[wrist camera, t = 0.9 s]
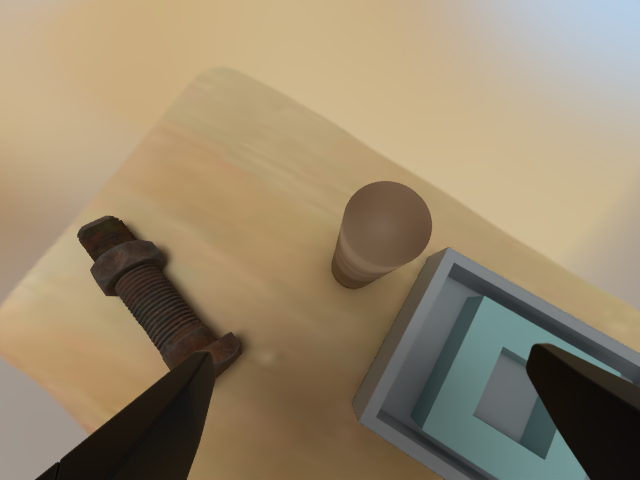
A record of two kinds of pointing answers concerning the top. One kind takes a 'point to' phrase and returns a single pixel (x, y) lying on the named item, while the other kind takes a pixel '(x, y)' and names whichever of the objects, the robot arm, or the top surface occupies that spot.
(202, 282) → the top surface
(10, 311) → the top surface
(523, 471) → the rim box
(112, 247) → the bolt
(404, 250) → the peg
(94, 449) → the robot arm
